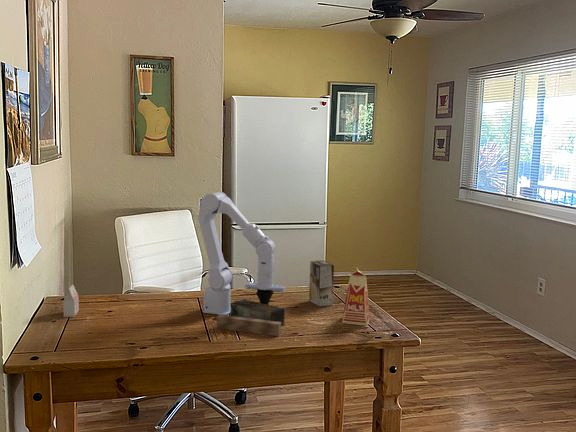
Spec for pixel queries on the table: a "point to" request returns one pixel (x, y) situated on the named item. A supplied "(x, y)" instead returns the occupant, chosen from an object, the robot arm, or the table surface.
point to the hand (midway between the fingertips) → (264, 310)
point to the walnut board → (249, 325)
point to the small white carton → (71, 303)
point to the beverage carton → (257, 311)
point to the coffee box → (321, 283)
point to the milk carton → (356, 300)
